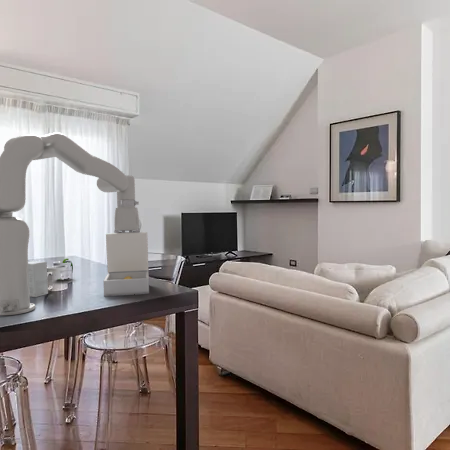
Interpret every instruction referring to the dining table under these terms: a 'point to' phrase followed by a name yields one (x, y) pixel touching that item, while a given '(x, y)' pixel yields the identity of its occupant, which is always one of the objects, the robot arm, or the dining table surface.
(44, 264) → the small box
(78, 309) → the dining table surface
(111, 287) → the white square tray
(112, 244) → the lid
